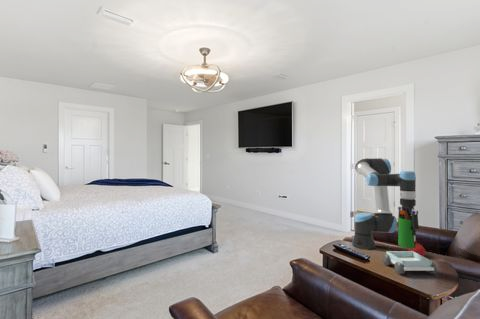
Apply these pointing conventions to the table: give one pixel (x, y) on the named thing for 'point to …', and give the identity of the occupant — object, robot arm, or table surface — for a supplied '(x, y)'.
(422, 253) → the pomegranate
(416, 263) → the chassis
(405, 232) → the motor
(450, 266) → the table surface
